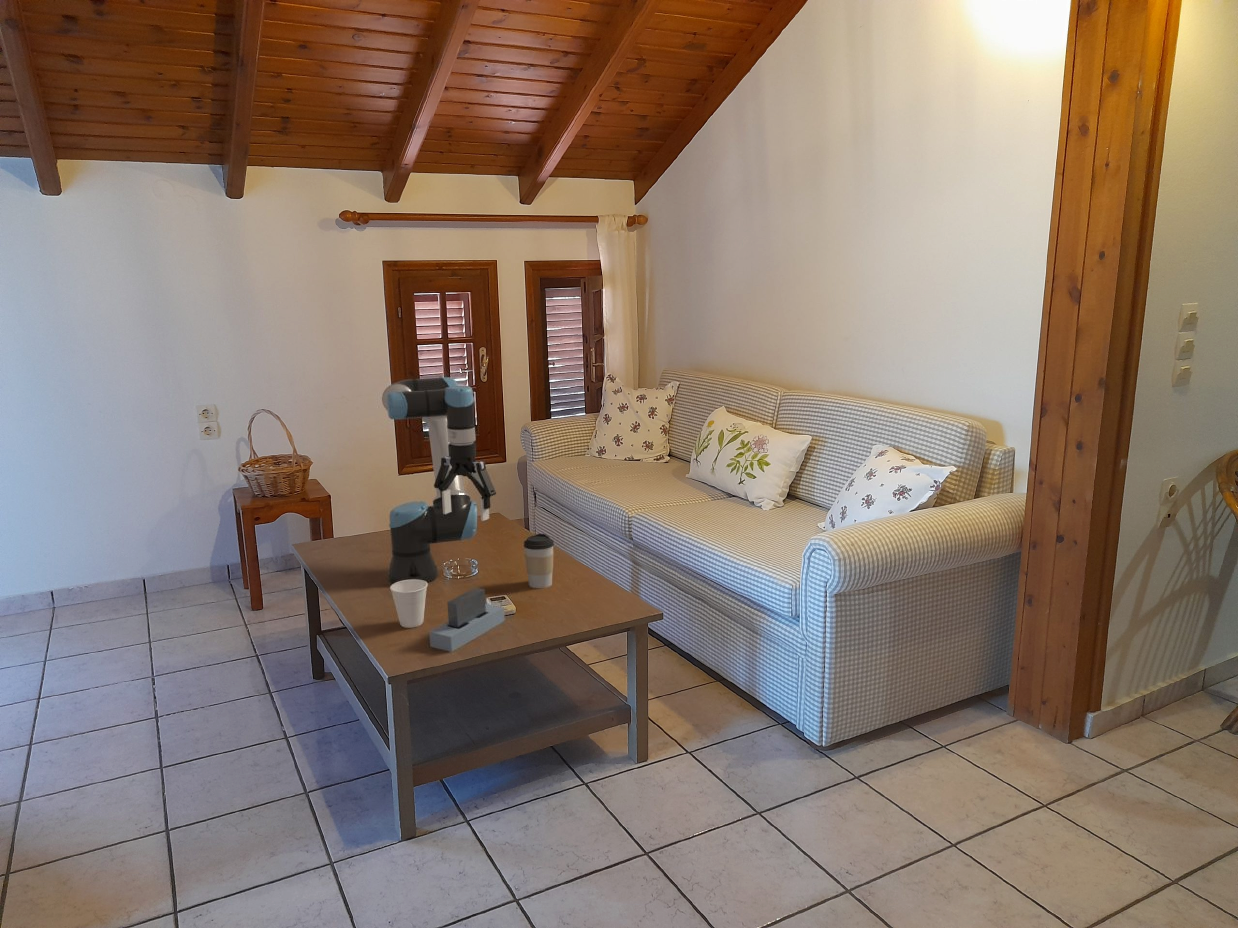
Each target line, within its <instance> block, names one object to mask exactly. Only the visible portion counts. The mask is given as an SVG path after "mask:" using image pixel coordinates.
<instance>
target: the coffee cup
mask: <svg viewBox="0 0 1238 928" xmlns="http://www.w3.org/2000/svg"><path fill="white" fill-rule="evenodd" d="M554 542H555V541H554V539H552V538H551V537H550V536H548V535H547V534H545V533H537V534H535V535H529V536H528V537H527V539H526V540H524V541H523V548H524V557H525V558H524V559H525V565H526V573H527V579H528V586H529V587H531V588H533V589H546V588H548V587H551V586H553V571H554V546H555V543H554Z"/></svg>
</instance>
